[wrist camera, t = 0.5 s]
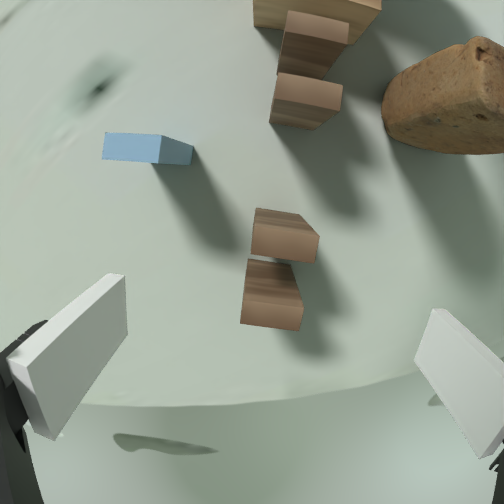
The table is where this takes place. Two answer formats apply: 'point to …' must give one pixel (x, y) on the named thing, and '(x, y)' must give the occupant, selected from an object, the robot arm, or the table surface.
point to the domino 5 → (271, 296)
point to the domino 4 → (283, 236)
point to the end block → (318, 13)
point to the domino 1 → (146, 149)
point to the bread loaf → (450, 100)
